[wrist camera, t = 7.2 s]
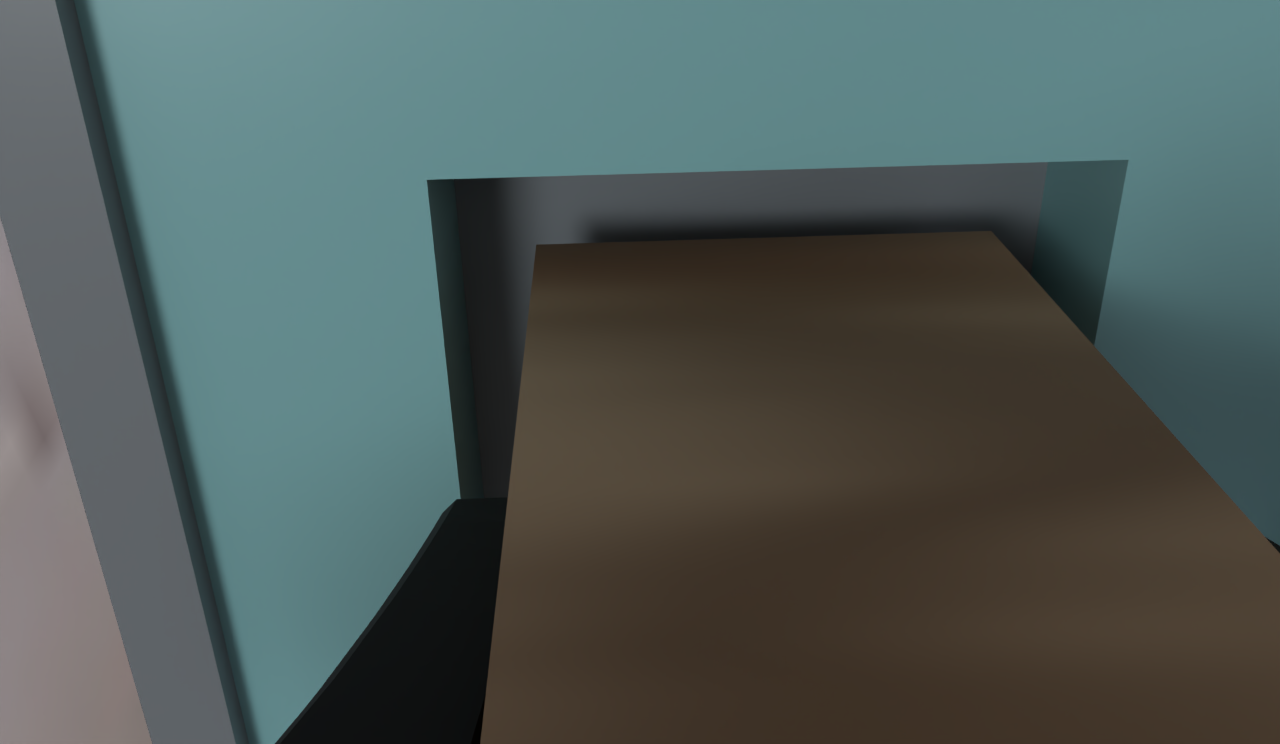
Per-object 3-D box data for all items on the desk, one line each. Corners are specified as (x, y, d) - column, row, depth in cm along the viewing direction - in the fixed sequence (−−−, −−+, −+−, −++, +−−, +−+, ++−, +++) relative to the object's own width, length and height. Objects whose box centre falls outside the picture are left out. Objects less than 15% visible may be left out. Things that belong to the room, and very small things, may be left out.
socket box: (1458, -292, 10) (1716, -315, 8) (1177, 746, 15) (1277, 910, 13) (28, -268, 9) (-145, -284, 7) (270, 785, 15) (214, 961, 13)
